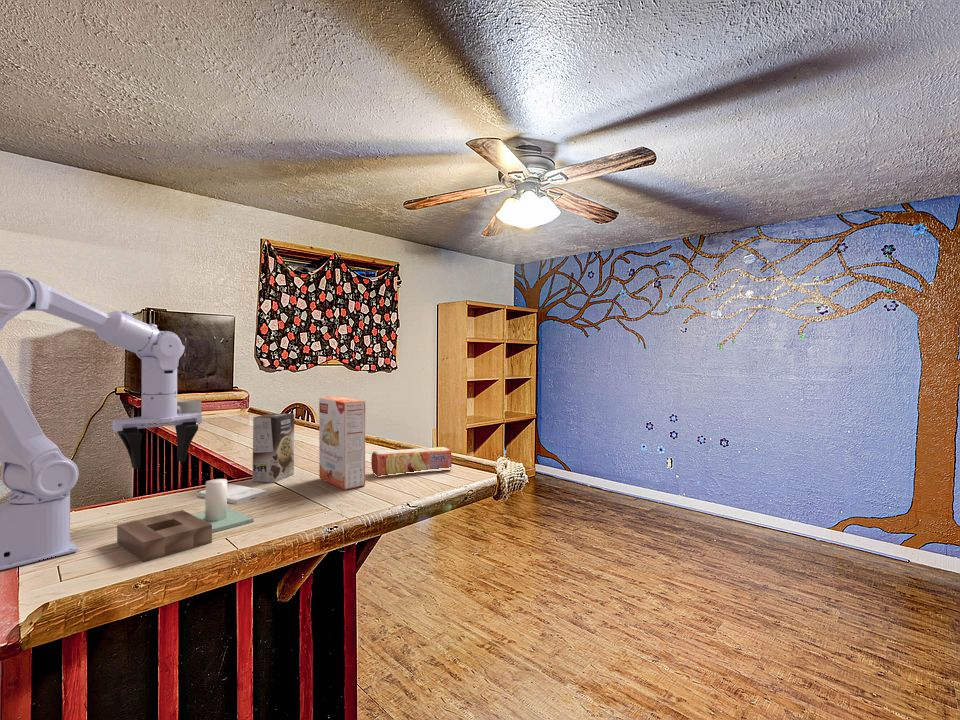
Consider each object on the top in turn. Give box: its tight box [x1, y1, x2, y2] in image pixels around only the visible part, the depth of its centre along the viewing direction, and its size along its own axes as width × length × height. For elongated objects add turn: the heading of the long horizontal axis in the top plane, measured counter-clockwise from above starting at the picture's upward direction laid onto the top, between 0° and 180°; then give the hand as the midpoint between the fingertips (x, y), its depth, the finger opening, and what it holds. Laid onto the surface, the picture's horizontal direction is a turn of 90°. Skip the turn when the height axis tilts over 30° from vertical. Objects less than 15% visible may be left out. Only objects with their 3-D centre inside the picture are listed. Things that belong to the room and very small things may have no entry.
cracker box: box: [318, 395, 366, 491], centre depth 121 cm, size 14×6×21 cm, turn 42°
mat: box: [192, 506, 255, 534], centre depth 93 cm, size 9×11×1 cm
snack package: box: [370, 446, 453, 476], centre depth 132 cm, size 21×7×7 cm, turn 115°
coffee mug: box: [177, 399, 202, 414], centre depth 214 cm, size 13×10×10 cm
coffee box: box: [251, 413, 295, 484], centre depth 125 cm, size 9×6×16 cm
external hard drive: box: [197, 483, 269, 505], centre depth 110 cm, size 2×8×12 cm
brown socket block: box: [116, 509, 213, 563], centre depth 82 cm, size 10×12×3 cm
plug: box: [204, 478, 228, 521], centre depth 93 cm, size 4×4×7 cm
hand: (159, 464), depth 94 cm, fingers open, 7 cm apart
